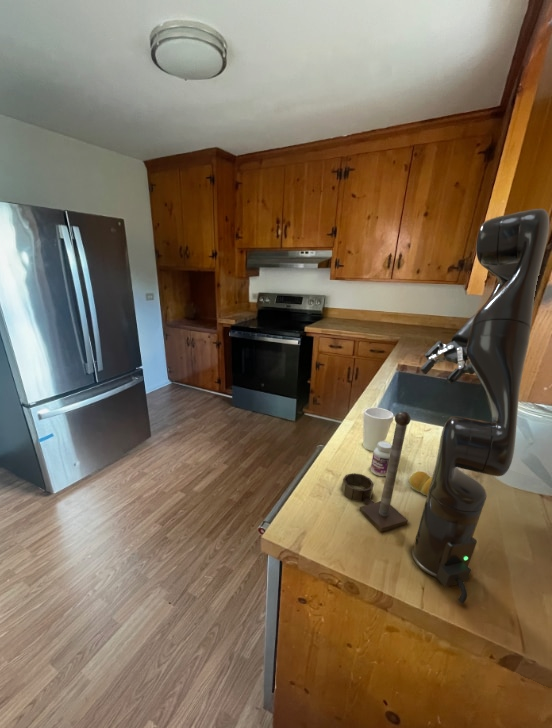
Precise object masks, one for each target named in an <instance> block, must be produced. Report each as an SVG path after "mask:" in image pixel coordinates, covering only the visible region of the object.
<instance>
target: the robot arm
mask: <svg viewBox="0 0 552 728" xmlns="http://www.w3.org/2000/svg"><path fill="white" fill-rule="evenodd" d="M549 232H550V215H549V213H548V211H547V210H546V209H544V208H534V209H528V210H523V211H517V212H513V213H509V214H508V213H507V214H504V215H501V216H500V215H499V216H496V217H493V218H490V219H488V220H485V221H484V222H482V224H481V226H480V227H479V229H478V232H477V236H476V241H475V254H476V255H475V256H476V259H477V261H478V263H479V265H481V267H483V268H484V269H486V270H487V271H488V272H490V273H491V274H492V275H494V276H495V277H496V278H497V281H496V283H495V285H494V287H493V289H492V292H491V293H490V295H489V297H488V299H486V301H485V302H484V303H483V305H482V306H481V307H480V308H479V309H478V311H476V312H475V313H474V314H473V315H472V316H471V317H469V319H468V320H466V322H465V323H464V324H463V325H462V326H461V327H460V328H459V330H457V332H456V333H455V334H453V336H452V338H451V341H450V342H448V343H443V342H442V341H441V340H438V341H437V342H435V344H434V345H433V346H432V347H431V348H430V349H428V351H427V352H425V354H424V357H425V358H426V360H427V361H425V362H424V363H423V365H422V366H421V367H420V372H421V373H422V374H423V375H428V374H429V372H430V371H431V370H432V369H433V368H434V366H435V365H437V364H439V363H446V362H448V363H452V364H453V363H454V364H455V365H457V368H456V367H455V368H454V370H453V371H452V372H451V373H450V374H449V375H448V376H447V378H446V381H447V383H448V384H450V385H452V384H453V383H456V382H457V381H458V380H459V379H460V378H461V376H463V375H465V374H469V375H473V374H475V376H476V378H478V380H479V382H480V383H481V385H482V388H483V389H484V391H485V393H486V396H487V399H488V401H489V406H490V412H491V422H490V421H486V420H482V419H481V420H480V419H474V418H470V417H469V418H468V417H463V416H455V415H454V416H450V417H449V418H448V419H447V420H446V421H445V422H444V425H443V427H442V430H441V435H440V439H439V444H438V450H437V455H436V459H435V460H436V461H435V465H434V469H433V472H432V476H431V477H432V480H431V483H430V487H429V490H428V494H427V496H426V497H425V498H426V499H425V501H424V506H423V510H422V514H421V517H420V521H419V525H418V529H417V533H416V535H415V538H414V541H413V543H414V544H413V547H412V551H411V556H412V559H413V561H414V563H415V564H416V565H417V567H418V568H420V569H421V570H422V571H423V572H425V573H426V574H428V575H430V576H432V577H433V578H435V579H437V581H438V582H440V583H441V584H442V586H444V588H448V587H452V586H456V585H458V588H459V589H460V595H459V596H458V598H457V601H458V602H459V603H461V604H464V603H465V601H467V598H468V591H467V588H466V585H465V583H467V582H468V580H469V577H470V574H471V572H472V569H471V568H470V567H469V566H470V563H471V559H472V557H473V554H474V551H475V549H476V546H477V543H478V541H477V539H476V538H475V537H474V535H475V531H476V528H477V526H478V523H479V520H480V518H481V514H482V512H483V509H484V506H485V503H486V501H487V491H486V489H485V488H484V485H482V484H481V483H480V482H479V481H478V480H476V478H473V477H472V476H471V475H468V474H467V473H465V472H463V471H462V470H466V471H470V472H475V473H480V474H484V475H489V476H491V477H492V476H493V477H503V476H504V475H505V474H507V472H508V471H509V470H510V468H511V465H512V462H513V458H514V455H515V447H516V436H517V425H518V424H517V423H518V410H519V397H520V390H521V383H522V379H523V372H524V367H525V362H526V358H527V353H528V349H529V343H530V337H531V330H532V322H533V314H534V313H533V312H534V305H535V301H534V297H535V291H536V285H537V281H538V276H539V275H540V271H541V267H542V265H543V261H544V260H543V259H544V255H545V252H546V247H547V244H548V243H547V242H548V238H549ZM461 469H462V470H461Z"/></svg>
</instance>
